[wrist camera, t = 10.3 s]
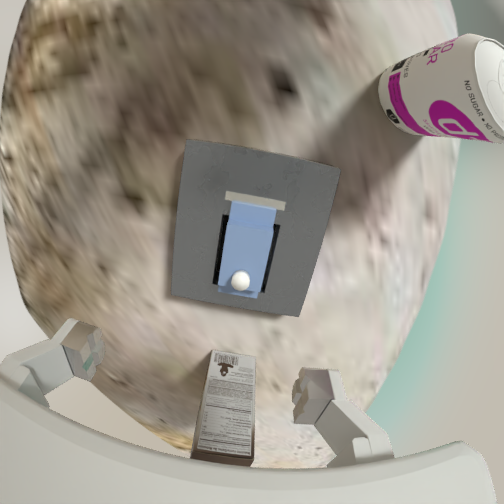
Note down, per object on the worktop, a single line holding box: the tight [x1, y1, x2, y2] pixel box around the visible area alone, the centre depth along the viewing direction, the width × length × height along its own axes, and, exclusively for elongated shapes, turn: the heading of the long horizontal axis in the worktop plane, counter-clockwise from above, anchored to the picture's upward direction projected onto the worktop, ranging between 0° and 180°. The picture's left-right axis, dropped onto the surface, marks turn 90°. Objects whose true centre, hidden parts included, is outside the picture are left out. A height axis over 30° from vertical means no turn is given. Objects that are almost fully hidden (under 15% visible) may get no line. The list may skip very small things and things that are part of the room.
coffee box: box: [190, 350, 256, 467], centre depth 30 cm, size 9×6×16 cm
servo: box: [218, 201, 277, 298], centre depth 26 cm, size 9×4×6 cm, turn 170°
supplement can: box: [378, 34, 504, 144], centre depth 15 cm, size 8×8×15 cm
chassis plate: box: [171, 139, 341, 317], centre depth 27 cm, size 16×14×3 cm
